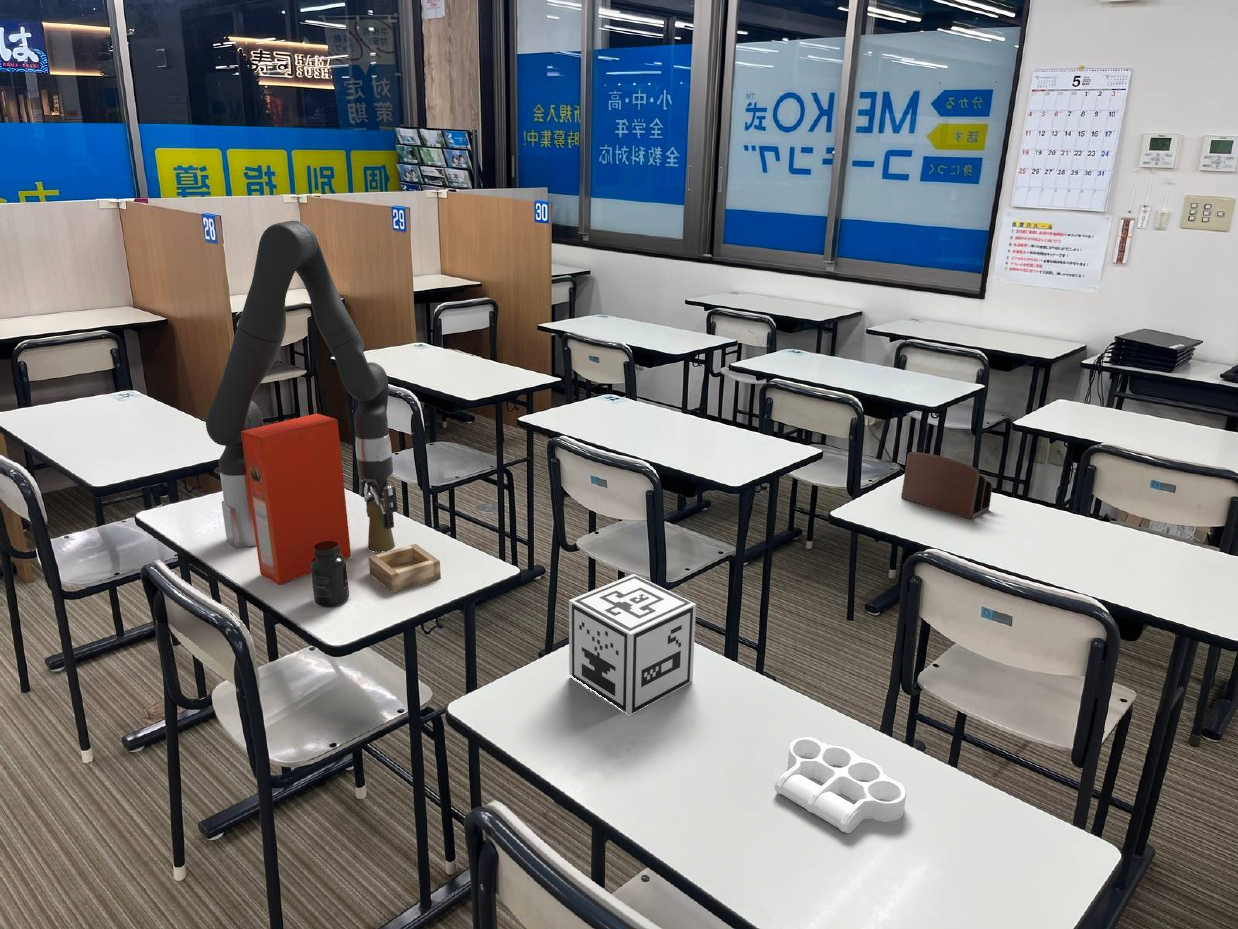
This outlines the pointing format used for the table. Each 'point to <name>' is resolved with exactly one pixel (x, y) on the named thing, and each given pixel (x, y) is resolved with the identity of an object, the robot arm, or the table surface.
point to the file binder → (295, 493)
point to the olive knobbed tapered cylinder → (378, 530)
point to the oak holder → (404, 567)
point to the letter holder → (946, 485)
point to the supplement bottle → (329, 575)
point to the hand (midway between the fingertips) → (380, 522)
